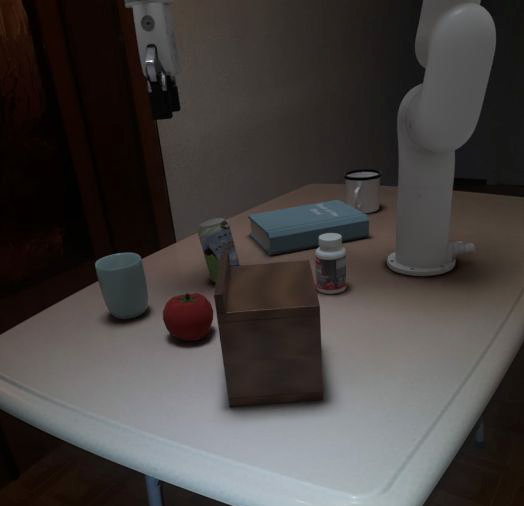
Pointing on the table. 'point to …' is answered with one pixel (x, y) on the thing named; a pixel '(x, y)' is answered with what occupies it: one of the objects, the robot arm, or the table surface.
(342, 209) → the book
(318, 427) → the table surface
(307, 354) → the wooden box
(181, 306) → the tomato
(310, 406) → the table surface
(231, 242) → the beverage can
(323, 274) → the pill bottle
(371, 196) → the mug
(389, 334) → the table surface
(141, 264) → the cup
